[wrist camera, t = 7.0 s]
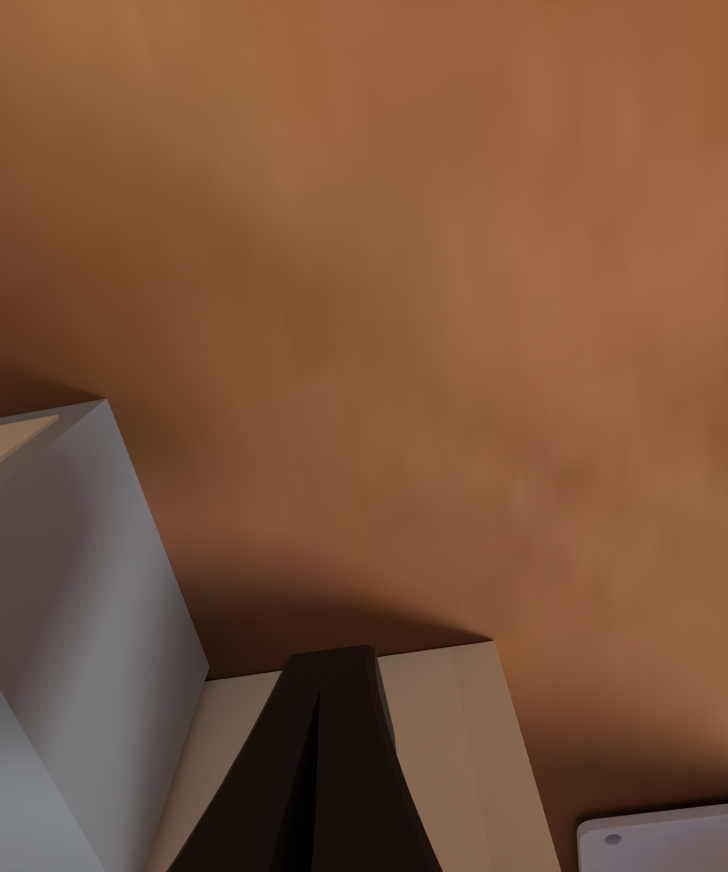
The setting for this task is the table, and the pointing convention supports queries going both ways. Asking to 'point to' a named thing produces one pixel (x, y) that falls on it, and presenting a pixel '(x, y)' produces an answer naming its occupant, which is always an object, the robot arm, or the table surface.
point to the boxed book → (85, 649)
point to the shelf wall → (417, 753)
